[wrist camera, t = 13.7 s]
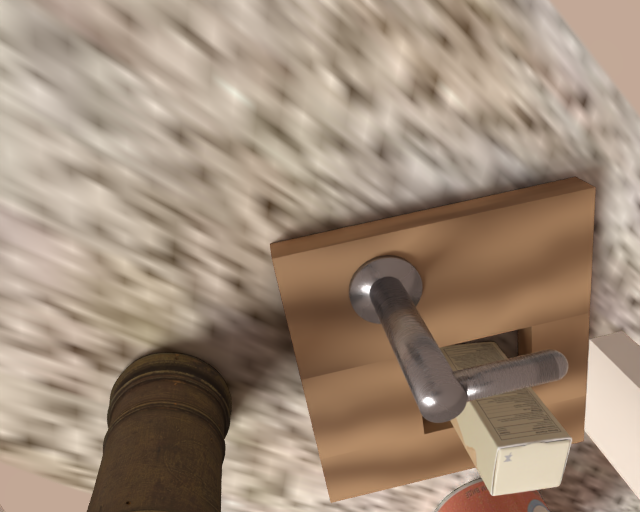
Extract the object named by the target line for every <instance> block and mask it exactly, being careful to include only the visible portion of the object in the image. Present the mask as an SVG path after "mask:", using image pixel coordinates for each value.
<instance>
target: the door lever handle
mask: <svg viewBox="0 0 640 512" xmlns="http://www.w3.org/2000/svg"><path fill="white" fill-rule="evenodd" d="M422 289H423V287H422V280H421V277H420V275H419V273H418V271H417V270H416V268H415V267H414V266H413V265H412V264H411V263H410V262H409V261H408V260H406V259H404V258H402V257H399V256H395V255H382V256H378V257H375V258H372V259H370V260H368V261H366V262H365V263H364V264H362V265H361V266H360V267H359V268H358V269H357V270H356V271H355V273H354V274H353V276H352V278H351V281H350V284H349V298H350V302H351V304H352V307H353V309H354V310H355V312H356V313H357V314H358V315H359V316H360V317H361V318H363V319H364V320H366V321H368V322H371V323H376V324H381V325H382V327H383V329H384V331H385V334H386V336H387V338H388V340H389V343H390V345H391V347H392V349H393V352H394V354H395V356H396V358H397V361H398V363H399V365H400V367H401V370H402V372H403V374H404V376H405V379H406V381H407V383H408V385H409V388H410V390H411V392H412V394H413V397H414V399H415V401H416V403H417V406H418V408H419V410H420V412H421V414H422V416H423V417H424V418H425V419H426V420H428V421H430V422H434V423H443V422H447V421H450V420H452V419H454V418H456V417H457V416H458V415H460V414H461V413H462V411H463V410H464V408H465V406H466V404H467V402H469V401H473V400H478V399H482V398H486V397H490V396H494V395H499V394H503V393H507V392H511V391H515V390H520V389H524V388H528V387H532V386H537V385H541V384H545V383H549V382H553V381H557V380H560V379H562V378H563V377H564V376H565V375H566V373H567V371H568V361H567V359H566V358H565V356H564V355H563V354H562V353H561V352H559V351H557V350H553V349H547V350H542V351H538V352H534V353H530V354H525V355H521V356H517V357H513V358H508V359H504V360H500V361H496V362H491V363H487V364H483V365H479V366H474V367H470V368H466V369H462V370H457V371H453V370H452V369H451V367H450V365H449V363H448V362H447V360H446V358H445V356H444V355H443V353H442V351H441V350H440V348H439V346H438V344H437V343H436V341H435V339H434V338H433V336H432V334H431V332H430V331H429V329H428V327H427V325H426V324H425V322H424V320H423V319H422V317H421V315H420V313H419V312H418V310H417V308H416V306H417V304H418V303H419V301H420V298H421V295H422Z"/></svg>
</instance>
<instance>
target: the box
mask: <svg viewBox="0 0 640 512" xmlns="http://www.w3.org/2000/svg"><path fill="white" fill-rule="evenodd" d="M440 350H441V351H442V353H443V355H444V356H445V358H446V360H447V362H448V363H449V365H450V367H451V369H452V370H453V371H457V370H462V369H466V368H470V367H474V366H479V365H483V364H487V363H491V362H496V361H500V360H504V359H508V358H507V357H506V355H505V354H504V353H503V352H502V350H501V349H500V348H499V347H498V345H497V344H496V343H495V342H479V343H470V344H461V345H452V346H446V347H441V348H440ZM450 421H451V423H452V425H453V427H454V428H455V430H456V432H457V434H458V436H459V438H460V439H461V441H462V443H463V445H464V447H465V449H466V450H467V452H468V454H469V456H470V458H471V460H472V461H473V463H474V465H475V467H476V469H477V470H478V472H479V474H480V476H481V478H482V480H483V481H484V483H485V485H486V487H487V489H488V490H489V492H490V494H491V495H492V496H497V495H504V494H512V493H519V492H526V491H533V490H539V489H545V488H552V487H558V486H560V484H561V481H562V477H563V473H564V470H565V466H566V462H567V458H568V455H569V451H570V447H571V443H572V438H571V436H570V435H569V434H568V433H567V432H566V430H565V429H564V428H563V427H562V426H561V424H560V423H559V422H558V421H557V419H556V418H555V417H554V416H553V414H552V413H551V412H550V411H549V409H548V408H547V407H546V406H545V404H544V403H543V402H542V401H541V399H540V398H539V397H538V396H537V394H536V393H535V392H534V391H533V389H532V388H531V387H528V388H524V389H520V390H515V391H511V392H507V393H503V394H499V395H494V396H490V397H486V398H482V399H478V400H473V401H469V402H467V404H466V406H465V408H464V410H463V411H462V413H461V414H460V415H458V416H457V417H456V418H454V419H452V420H450Z"/></svg>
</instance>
